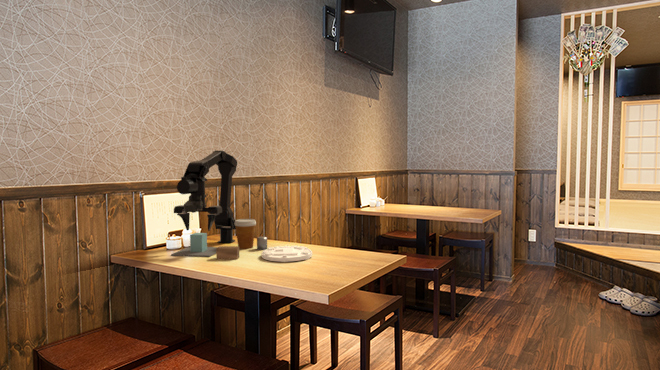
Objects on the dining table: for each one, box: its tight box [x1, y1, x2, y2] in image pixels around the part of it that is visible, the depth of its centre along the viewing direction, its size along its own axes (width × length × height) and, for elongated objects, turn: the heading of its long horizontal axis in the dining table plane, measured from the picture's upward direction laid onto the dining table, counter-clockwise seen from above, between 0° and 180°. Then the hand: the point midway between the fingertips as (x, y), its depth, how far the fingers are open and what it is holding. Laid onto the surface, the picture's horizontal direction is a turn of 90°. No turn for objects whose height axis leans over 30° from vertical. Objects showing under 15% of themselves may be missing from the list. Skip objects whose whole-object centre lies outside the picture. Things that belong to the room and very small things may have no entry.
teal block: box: [189, 232, 208, 252], centre depth 177 cm, size 5×5×7 cm
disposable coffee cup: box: [234, 218, 257, 250], centre depth 187 cm, size 10×10×12 cm
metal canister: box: [256, 236, 268, 251], centre depth 184 cm, size 4×4×5 cm
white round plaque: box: [261, 245, 313, 263], centre depth 169 cm, size 20×20×3 cm
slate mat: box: [170, 245, 218, 258], centre depth 177 cm, size 16×16×1 cm
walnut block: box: [215, 245, 240, 260], centre depth 166 cm, size 4×8×4 cm, turn 89°
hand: (198, 230), depth 177 cm, fingers open, 9 cm apart
